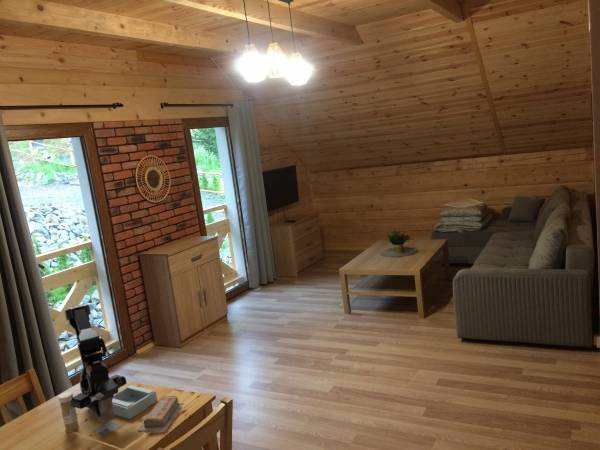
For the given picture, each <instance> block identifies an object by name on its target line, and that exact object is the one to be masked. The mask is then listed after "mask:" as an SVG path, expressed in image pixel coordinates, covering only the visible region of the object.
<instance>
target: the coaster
mask: <svg viewBox="0 0 600 450" xmlns="http://www.w3.org/2000/svg"><path fill="white" fill-rule="evenodd" d="M121 426H122V424H120V423H117V422H114V421H112V420H110V421H108V422H107V423H103V424H101V425H99V426H98V427H95V429H93V430H92V431H91V432H92V433H96V434H98V435H100V436H107V435H108V434H110V433H112V432H113V431H114V430H116V429H118V428H119V427H121Z"/></svg>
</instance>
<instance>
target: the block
mask: <svg viewBox="0 0 600 450" xmlns="http://www.w3.org/2000/svg"><path fill="white" fill-rule="evenodd" d="M96 400H99V402H98V408H99V413H100V417H97V416H96V415H95V413H94V412H93V411H92V413H93V415H92V416H93V418H94V420H95V421H97V422H100V423H103V424H104V423H107V422H108V421H112V420H113V419H114V418H116V415H115V414H114V409H113V404H112V398H111V397H110V398H106V397H105V396H104V395H102V394H101V393H100V394H98V395H96Z"/></svg>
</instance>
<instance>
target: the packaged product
mask: <svg viewBox="0 0 600 450" xmlns="http://www.w3.org/2000/svg"><path fill="white" fill-rule="evenodd" d="M184 404H185V402H179V398H178V396H175V395H164V396H163V395H162V396H161V398H160V399H159V400H157V402H156V404H155V405H154V406H153V407H152V409H151V410H150V411H149V413H148V414H147V415H146V416H145V418H144V419H143V422H142V423H141V425H140V426H139V427H138V429H137V432H142V433H143V432H146V434H150V433H151V434H152V433H153V434H154V433H155V434H157V433H158V434H159V433H162V434H163V433H166V431H167V430H168V428H170V425H171V424H172V423H173V421H174V420H175V418H176V417H177V415H178V414H179V413H180V411H181V409H182V406H183V405H184Z"/></svg>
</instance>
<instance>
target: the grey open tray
mask: <svg viewBox="0 0 600 450" xmlns="http://www.w3.org/2000/svg"><path fill="white" fill-rule="evenodd" d="M157 402H158V396H157V391H156V390H152V389H148V388H145V387H140V386H137V385H133V384H129V385H128V386H126V387H125V388H123V389H121V390H118V393H117V394H114V395H113V399H112V404H113V409H114V414H115V416H118V417H122V418H124V419H128V420H130V419H133V418H134V417H135V416H137V415H138V414H140V413H142V412H143V411H144V410H146V409H148V408H149V407H151V406H152V405H154V404H155V403H156V404H157Z"/></svg>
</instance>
